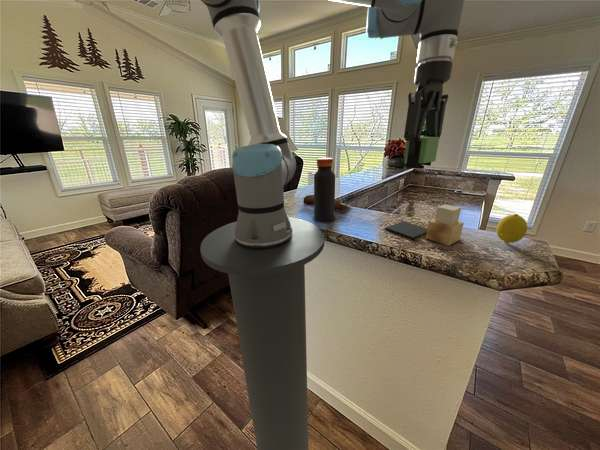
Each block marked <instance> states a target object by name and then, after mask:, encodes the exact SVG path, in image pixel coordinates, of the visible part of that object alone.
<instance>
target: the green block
mask: <svg viewBox="0 0 600 450" xmlns="http://www.w3.org/2000/svg"><path fill="white" fill-rule="evenodd" d="M405 141H406V140H405ZM419 141H421V148H420V155H419V161H418V164H420V163H428V162H431V163H434V162H436V160H437V159H436V158H437V154H438V147H439V141H440V139H439V137H426V136H420V139H419ZM408 149H409V141H406V143H405V149H404V158H403V162H405V163H407V158H408Z"/></svg>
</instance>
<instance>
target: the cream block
mask: <svg viewBox="0 0 600 450" xmlns="http://www.w3.org/2000/svg"><path fill="white" fill-rule="evenodd" d="M461 211H462V207H460V206H456V205H451V204H446V203H445V204H442V205H439V206H437V208H436V212H435V217H434V219H435V222H439V223H442V224H446V225H450V226H451V225H453V224H455V223H457V222H458V221H459V219H460V216H461Z"/></svg>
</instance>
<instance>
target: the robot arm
mask: <svg viewBox="0 0 600 450" xmlns="http://www.w3.org/2000/svg"><path fill="white" fill-rule="evenodd" d="M200 1H201V2H202V3H203V5H205V6H206V8H207V10H208V14H209V16H210V17H209V18H210V20H211V24H212V26H213V31H214V33H215V35H216V36H217V37H218V38H220V39H221V40H222V41H223V44H224V47H225V51H226V54H227V58H228V61H229V65H230V68H231V72H232V75H233V79H234V82H235V86H236V90H237V93H238V97H239V100H240V101H239V102H240V104H241V108H242V111H243V115H244V118H245V122H246V126H247V129H248V132H249V133H248V134H249V135H250V140H249V142H248V144H247V145H243V146H240V147H238V148H236V149H235V150H234V151H232V154H231V160H232V161H231V162H232V164H231V169H232V172H233V181H234V187H235V193H236V201H237V209H238V214H237V220H236V221H237V224H236V228H235V234H234V235H235V242H236V243H237V244H238V245H239V246H241V247H243V248H247V249H253V250H264V249H271V248H276V247H279V246H282V245H284V244H286V243H287V242H289V241H290V240H291V239H292V236H293V235H292V227H291V224H290V222H289V219H288V217H289V216H288V215H287V212H286V209H285V196H284V194H285V193H284V186H286V185H288V184H289V183H290V182H291V181H292V179H293V178H294V175H295V173H296V169H297V161H296V157H295V155H294V153H293V152H292V151H291V149H290V145H289V141H288V136H287V135H286V134H284V133H283V132H281V129H280V125H279V120H278V117H277V112H276V107H275V104H274V99H273V95H272V91H271V85H270V81H269V78H268V74H267V70H266V66H265V61H264V58H263V54H262V48H261V45H260V40H259V35H258V31H259V30H260V28H261V25H262V23H261V17H260V14H259V13H260V0H200ZM329 1H331V2H337V3H344V4H349V5H356V6H362V7H367V11H366V26H365V35H366V37H367V38H368V39H379V40H383V39H387V38H394V37H395V38H396V37H404V36H405V37H406V36H413V35H414V36H416V35H419V40H418V41H419V42H418V48H417V56H416V64H417V66H416V67H415V72H414V78H413V79H414V80H413V83H414V85H416V86H417V89H416V91H415V92H409V93H408V96H407V101H408V105H407V112H406V118H405V119H406V120H405V126H404V132H403V138H404V140H405V141H409V149H408V158H407V162H406V168H412V169H418V167H419V165H420V166H427V167H430V166H432V162H428V163H418V161H419V155H420V148H421V141H419V139H420V137H422V132H423V129H424V127H425V137H439V140H440V139H441V137H442V131H443V125H444V119H445V113H446V106H447V103H448V99H449V94H448V93H447V94H444V93H443V92H444V88H443V87H444V84H445V83H447V82H449V81H450V80H451V76H452V71H453V65H454V63H453V61H452V60H453V59H454V57H455V51H456V46H457V45H458V43H459V42H458V36H459V35H458V34H459V29H460V24H461V20H462V19H461V18H462V13H463V8H464V3H465V0H329ZM424 125H425V126H424Z"/></svg>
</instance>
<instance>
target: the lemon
mask: <svg viewBox="0 0 600 450" xmlns="http://www.w3.org/2000/svg"><path fill="white" fill-rule="evenodd" d="M527 230H528V224H527V221H526V219H525V218H523V217H522V216H521V215H519V214H518V213H513V214H508V215H505V216H504V217H502V218H501V219H500V220H499V222H498V223H497V226H496V235H497V237H498V238H499V239H500V240H501V241H503V242H504V244H511V243H517V242H519V241H521V240H522V239H523V238H524V237H525V236H526V233H527ZM501 234H502V235H501Z"/></svg>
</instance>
